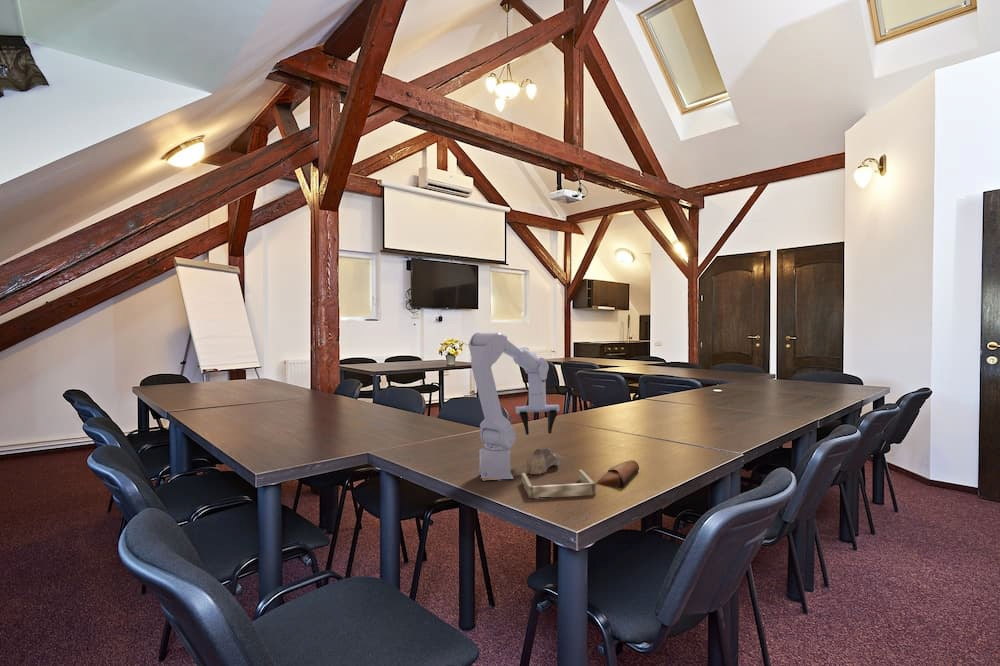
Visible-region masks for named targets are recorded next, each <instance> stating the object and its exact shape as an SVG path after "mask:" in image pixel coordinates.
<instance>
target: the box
mask: <svg viewBox="0 0 1000 666" xmlns="http://www.w3.org/2000/svg"><path fill="white" fill-rule="evenodd" d="M578 481H579V483H563V484H544V485H532V483H531V481H530V478H529V477H528V476H527V474H526V472H521V484H522V483H523V485H524V487H523V488H525V489H524V491H525V490H526V491H525V493H526V492H527V493H526V494H528V495H527V497H528V496H529V497H528V498H535V499H540V498H539V497H551V498H564V497H565V498H566V497H580V496H581V497H582V496H594V495H595V496H596V495H597V494H596V493H597V492H596V489H597V488H596V485H597V484H596V483H595V481H594V480H593V479H592V478H590V476H589V475H588V474H587V473H586V472H585V471H584V470H583V469H578ZM523 485H522V486H523ZM537 497H538V498H537Z"/></svg>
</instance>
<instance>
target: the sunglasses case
mask: <svg viewBox="0 0 1000 666" xmlns="http://www.w3.org/2000/svg"><path fill="white" fill-rule="evenodd" d="M639 470H640V465H639V464H638V462H637V461H636V460H632V459H631V460H626V461H624V462H620V463H618V464H616V465H613V466H612V467H610V468H608V470H607V471H606V472H605V473H604V474H603V475H602V476H601V477H599V479H598V480H597V481H596V483H595V484H596V485H597V486H598V485H599V486H605V487H612V488H617V489H623V488H624V487H625V486H626V485H627V483H628V482H629V481H630V480H631V479H632V477H633V476H634V475H636V473H637V472H638V471H639Z"/></svg>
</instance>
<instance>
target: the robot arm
mask: <svg viewBox="0 0 1000 666" xmlns="http://www.w3.org/2000/svg"><path fill="white" fill-rule="evenodd" d="M467 345H468V349H469V353H470V357H471V363H470V364H471V370H472V373H473V374H472V375H473V378H474V381H475V382H474V383H475V387H476V390H477V394H478V398H479V401H480V405H481V410H482V414H483V417H484V419H483V420H482V421H481V422H480V424H479V428H480V436H479V437H480V440H481V443H482V444H483V445H484V446H483V448H479V467H478V473H479V476H480V475H481V477H480V479H481V478H495V479H513V480H514V477H513V474H512V471H511V449H512V448H513V445H514V444H515V441H516V438H517V437H516V435H517V434H516V431H515V429H514V428H513V426H512V423H511V421H510V420H509V419H508V418H507V417H506V416H504V414H503V411H502V406H501V402H500V398H499V396H498V395H499V394H498V390H497V385H496V382H495V377H494V375H493V370H492V366H493V364H496V362H497V361H498V359H499V358H500V357H501V356H502V355H503V354H506V355H508V356H509V357H511V358H512V361H513V362H514V363H515V365H517V366H519V367H521V368H523V370H524V372H525V374H527V381H528V382H527V384H528V386H527V387H528V405H521V406H515V413H516V414H518V415H519V417H520V419H521V421H522V424H523V427H524V431H525V435H526V436H529V435H530V433H529V415H528V414H529V413H541V412H543V413H547V432H548V434H552V430H553V426H554V423H555V420H556V418H557V416H558V412H560V409H561V408H560V405H559V404H547V392H546V391H547V390H546V388H547V387H546V385H547V384H546V380H547V378H548V371H549V368H550V366H549V362H548V361H547V360H546V359H545V358H544V357H539V356H537V354H536V353H533V352H531V351H530V350H529V348H528V347H518V346H517V345H515V344H514V343H513V342H511V340H509V339H508V337H507V335H505V334H503V333H502V332H482V333H481V332H475V333H474V334H472V335H471V337H470V339H469V342H468V344H467ZM484 473H486V475H484Z"/></svg>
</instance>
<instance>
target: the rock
mask: <svg viewBox="0 0 1000 666" xmlns="http://www.w3.org/2000/svg"><path fill="white" fill-rule="evenodd" d="M561 460H562V455H560V454H558V453H554V452H552V449H551V448H549V447H545V448H543V449H541V448H539V449H535V451H533V454H532V456H531V458H527V459H526V463H525V464H526V465H525V466H526V469H527V473H528V474H529V473H530V474H531V476H533V475H532V474H534V475H540V474H541V473H543V474H546V473H548V469H549V468H551V467H552V466H558V465H559V464H560V461H561ZM545 472H546V473H545ZM530 474H529V475H530ZM541 475H542V474H541Z"/></svg>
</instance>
